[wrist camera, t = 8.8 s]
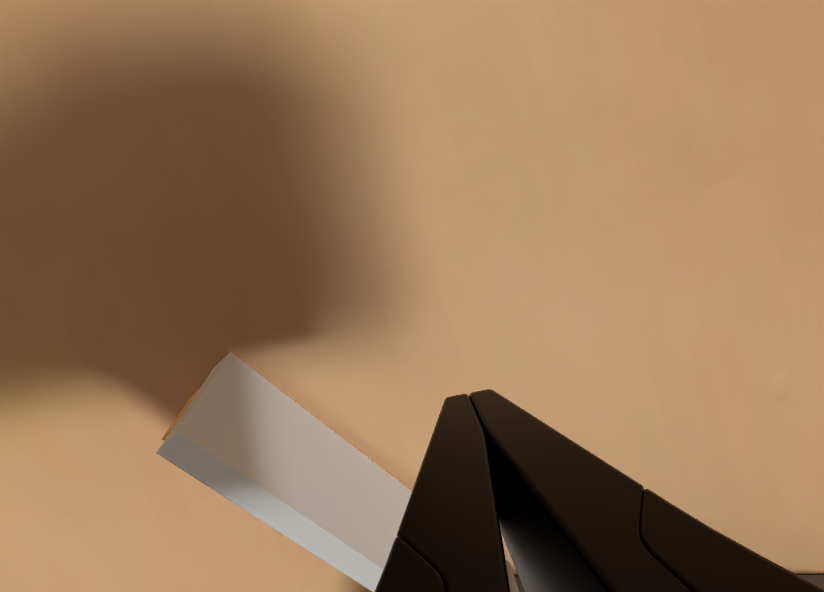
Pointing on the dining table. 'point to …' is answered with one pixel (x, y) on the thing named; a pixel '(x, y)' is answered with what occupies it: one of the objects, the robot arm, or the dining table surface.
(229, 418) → the side door
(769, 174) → the dining table surface
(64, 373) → the dining table surface
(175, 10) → the dining table surface
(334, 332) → the dining table surface
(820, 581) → the block
